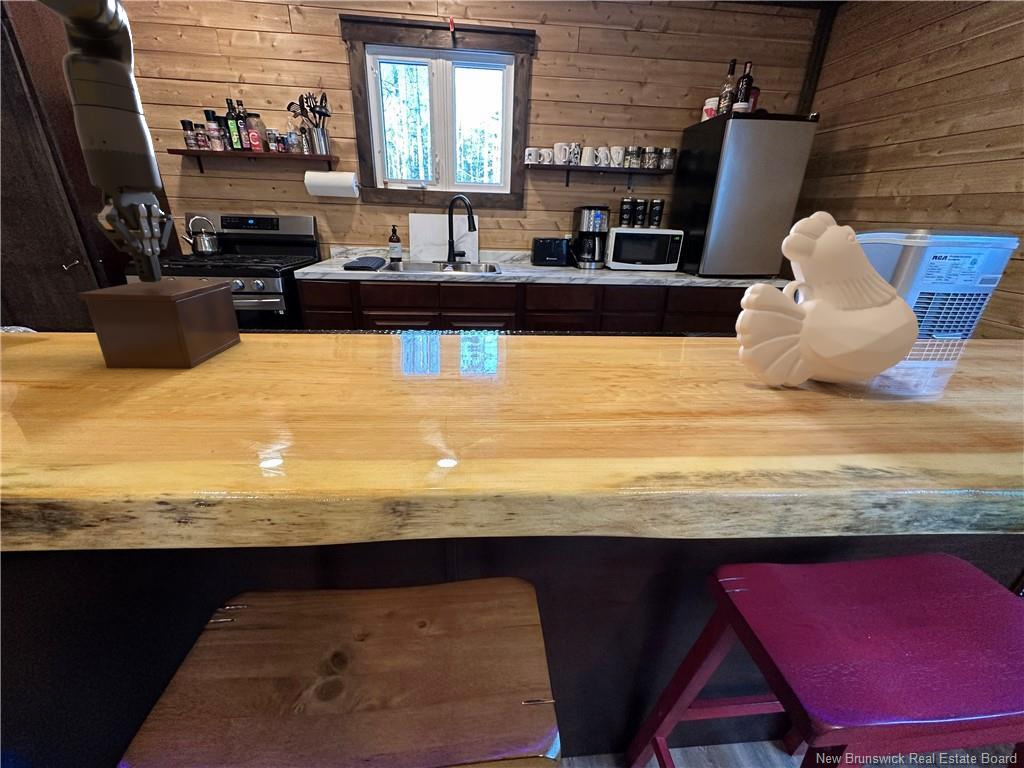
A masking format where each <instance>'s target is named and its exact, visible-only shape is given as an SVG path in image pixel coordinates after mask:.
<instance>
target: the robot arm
mask: <svg viewBox="0 0 1024 768" xmlns="http://www.w3.org/2000/svg"><path fill="white" fill-rule="evenodd" d="M35 1H36V2H37V3H39V4H40V5H42V7H44V8H46V9H48V10H49V11H51V12H52V13H53V14H55V15H57V16H58V17H59V18H60V20H61V23H62V27H63V31H64V36H65V41H66V46H67V51H68V52H67V53H66V54H64V56H63V57H62V72H63V76H64V80H65V84H66V86H67V90H68V95H69V97H70V101H71V105H72V109H73V110H72V111H73V116H74V117H73V118H74V124H75V125H74V126H75V129H76V134H77V137H78V141H79V144H80V149H81V152H82V155H83V159H84V163H85V166H86V170H87V174H88V177H89V181H90V184H91V185H92V186H94V187H96V188H100V189H101V191H102V197H101V203H102V205H103V209H102V210H101V212H99V213H98V212H93V213H91V216H90V218H91V220H92V222H93V223H94V224H95V225H96V226H97V228H98V229H99V230H100V231H101V232H102V234H104V235H105V237H106V238H107V239H108V240H109V241H110V242H111V244H113V246H114V247H115V248H116V249H117V250H118V251H119V252H125V253H127V254H129V255H130V256H132V259H133V263H134V266H135V270H136V274H137V277H138V279H139V282H157V281H161V280H162V279H163V277H162V271H161V267H160V262H159V258H158V255H160V253H161V250H162V251H163V250H166V249H167V248H168V243H169V239H170V235H171V231H172V227H173V223H174V218H173V215H171V214H169V213H167V214H165V213H164V212H162V210H161V209H160V203H159V201H158V199H157V197H156V195H155V192H157V191H161V190H162V188H163V185H162V180H161V176H160V172H159V166H158V162H157V158H156V153H155V149H154V144H153V140H152V136H151V133H150V129H149V127H148V124H147V122H146V118H145V113H144V110H143V105H142V100H141V95H140V92H139V88H138V84H137V81H136V78H135V68H134V67H135V65H134V64H135V63H134V49H133V41H132V32H131V27H130V22H129V18H128V14H127V11H126V8H125V7H124V6H125V5H124V4H123V2H122V0H35Z"/></svg>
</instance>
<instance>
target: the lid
mask: <svg viewBox="0 0 1024 768" xmlns="http://www.w3.org/2000/svg"><path fill="white" fill-rule="evenodd" d="M227 286H230V287H231V281H230V280H213V279H212V280H211V279H175V278H173V279H172V278H162V280H161V281H157V282H142V281H138V282H132V283H127V284H121V285H115V286H111V287H106V288H99V289H94V290H89V291H83V292H78V297H79V300H86V299H96V300H141V301H174V300H178V299H182V298H185V297H189V296H193V295H197V294H200V293H204V292H208V291H212V290H215V289H219V288H223V287H227Z"/></svg>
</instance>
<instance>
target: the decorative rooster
mask: <svg viewBox="0 0 1024 768" xmlns="http://www.w3.org/2000/svg"><path fill="white" fill-rule="evenodd" d="M781 252H782V254H783V256H784V257H785V258H786V259H788V260H789V261H790V266H791V270H792V273H793V276H794V279H795V280H792V281H790V282H789V283H787V285H785V287H784V288H783V289H782V290H780V289H779V288H777V287H775V286H773V285H771V284H769V283H761V282H757V283H755V284H753V285H750V286H749V287H748V288H747V289H746V290H745V292H744V295H743V297H742V299H741V301H740V306H741V307H740V308H742V309H743V310H742V311H741V312H740V313H739V315H738V317H737V320H736V323H735V331H736V341H737V343H738V344H739V345H741V346H740V347H739V350H738V358H739V359H738V360H739V361H740V363H742V364H744V367H745V369H746V370H747V371H749V372H751V373H752V374H753V376H754V377H756V378H757V379H758V380H759V381H760V382H761V383H763V384H765V385H767V386H770V387H775V386H776V387H777V386H781V385H782V386H783V387H786V388H795V387H796V386H799V385H801V384H803V383H804V382H806V381H807V380H814V381H818V382H824V383H832V384H837V383H838V384H839V383H853V382H863V381H868V380H871V379H873V378H876V377H877V376H879V375H881V374H882V373H884V372H886V371H887V370H889V369H891V368H893V367H895V366H896V365H898V364H900V363H901V362H902V361H903V360H904V359H905V358H906V357H907V356H908V355H909V354H910V352H911V351H912V350H913V348H914V346H915V345H916V343H917V341H918V338H919V335H920V330H919V322H918V317H917V315H916V313H915V312H914V310H913V309H912V308H911V306H910V305H909V304H908V303H907V302H906V300H905V299H904V298H902V297H901V296H900V295H898V294H897V293H898V290H897V289H896V288H895V287H894V286H893V285H891V283H889V282H887V280H886V279H884V277H882V276H881V274H880V273H878V271H877V270H876V269H875V268H874V266H873V265H872V264H871V262H870V261H869V259H868V257H867V255H866V253H865V252H864V249H863V248H862V246H861V244H860V242H859V240H858V239H857V235H856V233H855V230H854V229H853V228H852V226H850V225H842V226H841V225H838V224H837V221H836V220H835V218H834V217H833V216H832V215H831V213H828V212H827V211H823V210H822V211H816V212H814V213H813V214H811V215H810V216H809V217H804V218H802V219H800V220H799V221H797V222H796V223H794V225H793V226H792V227H791V229H790V231H789V234H788V235H787V236H786V237H785V238H784V239H783V241H782V244H781ZM797 290H798V302H797V303H796V302H795V292H796V291H797Z"/></svg>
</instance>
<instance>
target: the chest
mask: <svg viewBox="0 0 1024 768" xmlns="http://www.w3.org/2000/svg"><path fill="white" fill-rule="evenodd" d="M85 302H86V305H87V308H88V312H89V315H90V318H91V321H92V325H93V328H94V331H95V335H96V338H97V341H98V344H99V348H100V351H101V354H102V357H103V361H104V364H105V367H106V368H134V369H135V368H137V369H138V368H140V369H143V368H145V369H146V368H147V369H148V368H149V369H153V368H154V369H192V368H195V367H196V366H198V365H200V364H202V363H204V362H206V361H207V360H209V359H211V358H213V357H215V356H217V355H218V354H220V353H222V352H224V351H226V350H228V349H230V348H232V347H233V346H235V345H237V344H239V343H241V342H242V340H241V334H240V329H239V325H238V320H237V314H236V309H235V304H234V298H233V293H232V287H231V285H230V286H227V287H223V288H219V289H215V290H212V291H208V292H204V293H200V294H197V295H193V296H189V297H185V298H182V299H178V300H174V301H141V300H96V299H85Z"/></svg>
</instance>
